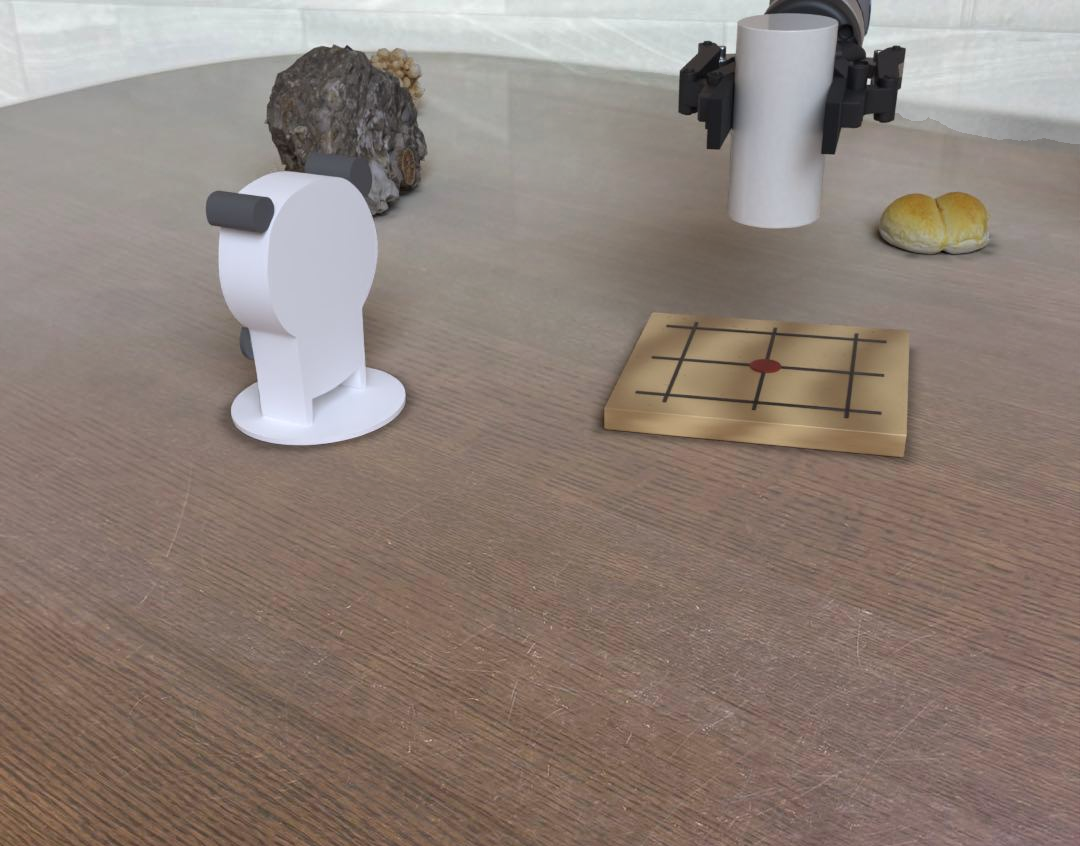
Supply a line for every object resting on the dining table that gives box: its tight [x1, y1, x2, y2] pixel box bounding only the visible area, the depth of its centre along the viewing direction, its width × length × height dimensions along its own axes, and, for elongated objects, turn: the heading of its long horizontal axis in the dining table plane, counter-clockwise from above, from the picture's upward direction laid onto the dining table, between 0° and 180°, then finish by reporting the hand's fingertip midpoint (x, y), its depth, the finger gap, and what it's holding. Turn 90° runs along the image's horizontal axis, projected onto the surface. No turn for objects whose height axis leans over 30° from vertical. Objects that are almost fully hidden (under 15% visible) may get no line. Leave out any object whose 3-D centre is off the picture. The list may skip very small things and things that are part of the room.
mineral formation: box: [369, 47, 426, 111], centre depth 144 cm, size 8×13×15 cm
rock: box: [263, 43, 429, 216], centre depth 113 cm, size 18×14×15 cm
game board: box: [603, 311, 911, 458], centre depth 79 cm, size 18×16×2 cm
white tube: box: [726, 13, 838, 230], centre depth 71 cm, size 6×6×11 cm
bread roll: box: [878, 191, 991, 255], centre depth 101 cm, size 8×9×4 cm
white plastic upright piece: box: [205, 152, 407, 446], centre depth 75 cm, size 12×11×15 cm
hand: (771, 126), depth 66 cm, fingers closed on white tube, 6 cm apart
